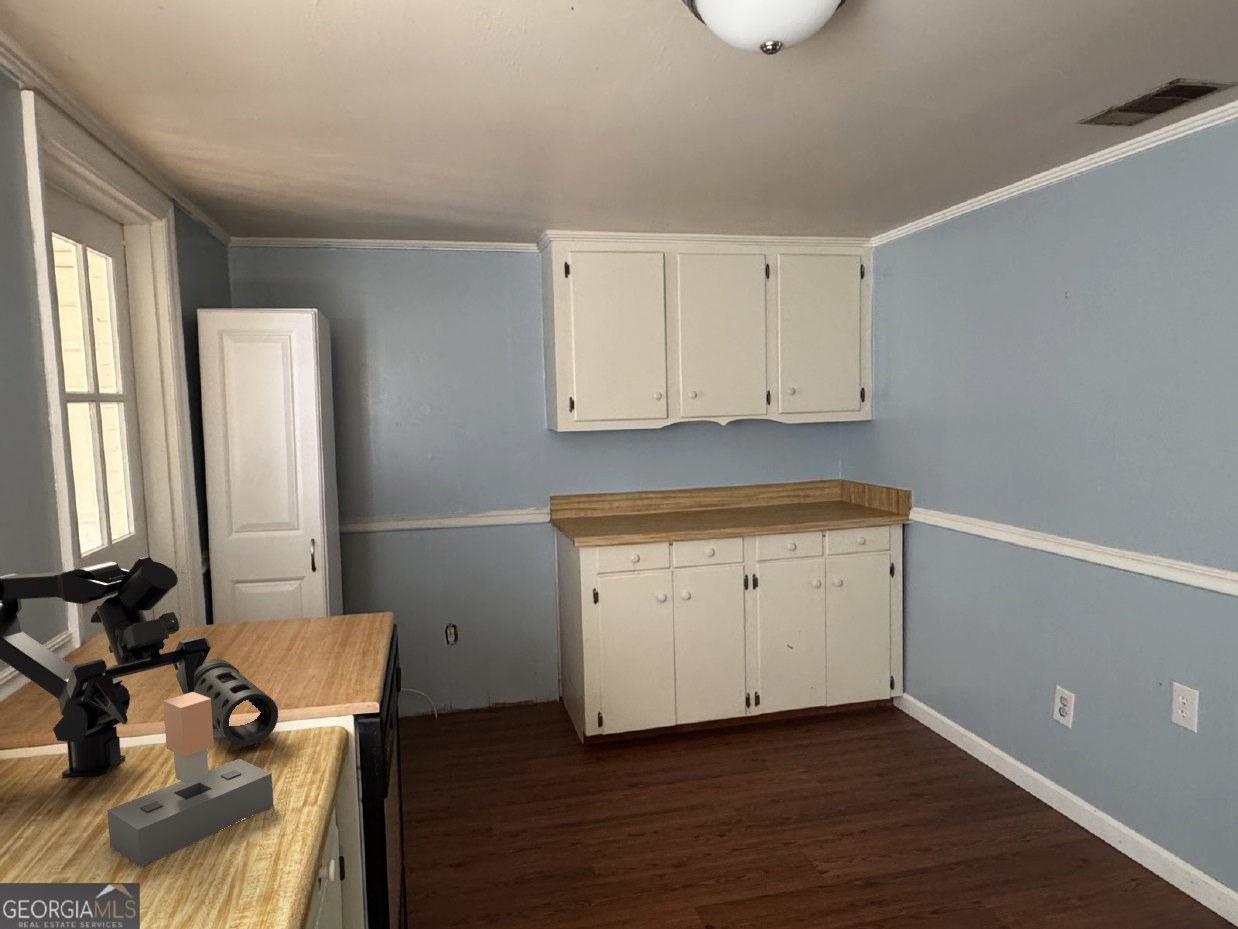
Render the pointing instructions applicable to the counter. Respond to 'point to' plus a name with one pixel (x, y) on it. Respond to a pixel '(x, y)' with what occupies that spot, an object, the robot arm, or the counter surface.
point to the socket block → (188, 811)
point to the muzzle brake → (235, 702)
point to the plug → (189, 734)
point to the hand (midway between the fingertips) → (159, 712)
